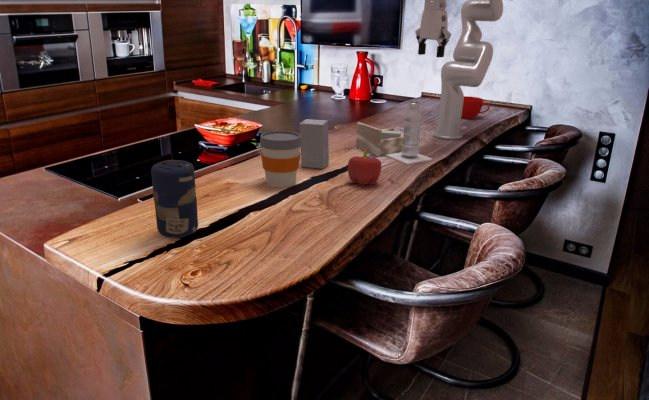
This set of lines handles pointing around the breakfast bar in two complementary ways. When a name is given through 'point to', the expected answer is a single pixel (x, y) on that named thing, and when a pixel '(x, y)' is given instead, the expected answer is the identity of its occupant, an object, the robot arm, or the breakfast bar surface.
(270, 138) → the reusable coffee cup
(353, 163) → the vegetable
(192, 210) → the canister
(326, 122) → the skincare box
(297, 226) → the breakfast bar surface
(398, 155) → the pad
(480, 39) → the robot arm
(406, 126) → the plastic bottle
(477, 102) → the ceramic cup
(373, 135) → the frame
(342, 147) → the breakfast bar surface
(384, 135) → the offcut top
